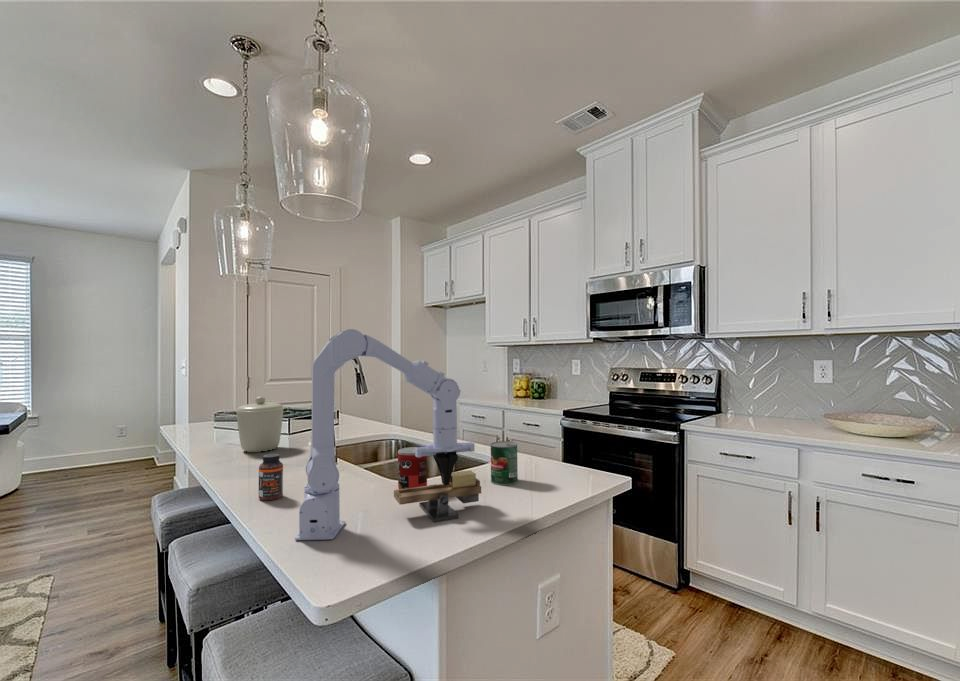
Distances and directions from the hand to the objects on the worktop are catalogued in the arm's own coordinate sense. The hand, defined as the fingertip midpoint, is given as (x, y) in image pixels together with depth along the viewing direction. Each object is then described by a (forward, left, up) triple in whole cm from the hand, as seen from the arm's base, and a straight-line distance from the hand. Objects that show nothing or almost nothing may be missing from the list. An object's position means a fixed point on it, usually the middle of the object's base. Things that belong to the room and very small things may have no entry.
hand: (445, 483), depth 111 cm
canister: (+72, +77, -7) cm, 106 cm away
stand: (-1, +2, -6) cm, 7 cm away
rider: (+2, -4, -1) cm, 4 cm away
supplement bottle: (+12, +47, -7) cm, 49 cm away
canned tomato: (+23, -16, -7) cm, 29 cm away
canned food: (+17, +10, -7) cm, 21 cm away
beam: (-1, +2, -4) cm, 5 cm away
